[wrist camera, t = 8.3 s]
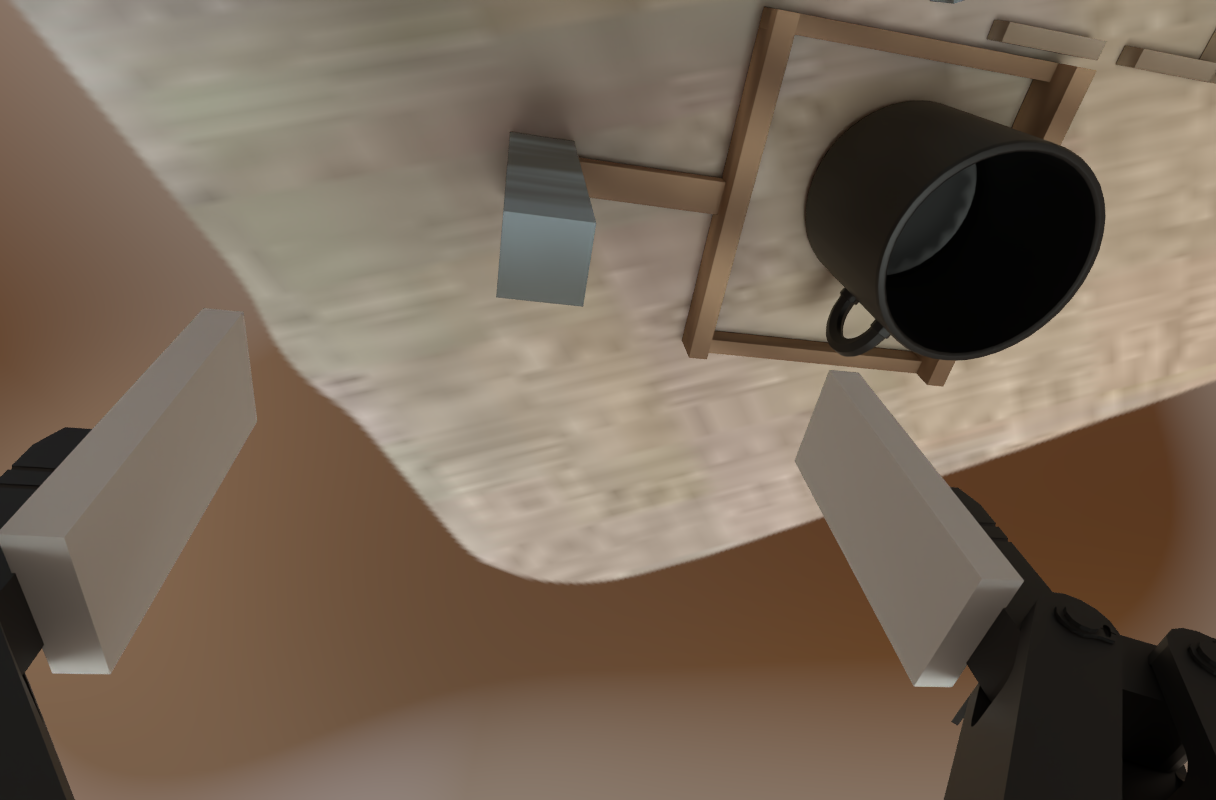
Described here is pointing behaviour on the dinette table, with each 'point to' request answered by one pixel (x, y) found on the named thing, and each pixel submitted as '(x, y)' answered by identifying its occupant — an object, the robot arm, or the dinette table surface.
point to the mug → (951, 230)
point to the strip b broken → (1208, 69)
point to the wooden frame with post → (728, 189)
